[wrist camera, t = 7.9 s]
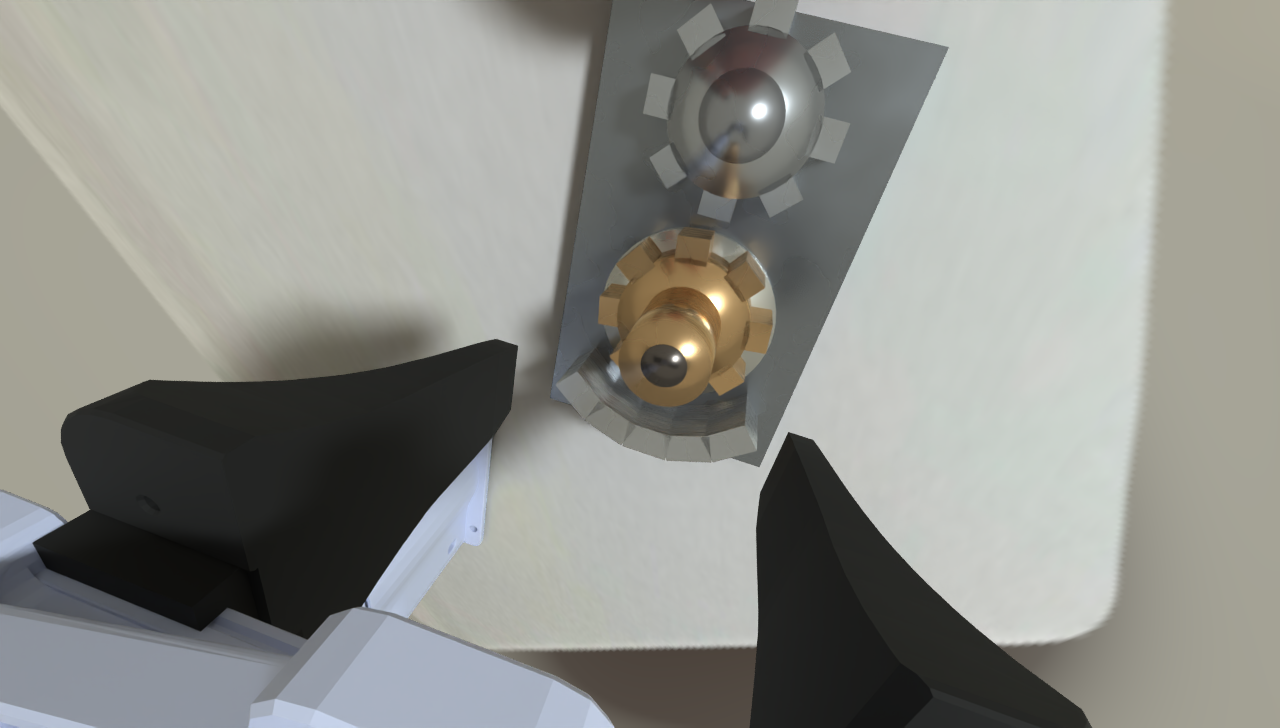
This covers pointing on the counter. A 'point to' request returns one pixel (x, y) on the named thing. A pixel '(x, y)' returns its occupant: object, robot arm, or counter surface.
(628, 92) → the carrier plate
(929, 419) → the counter surface
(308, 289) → the counter surface
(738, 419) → the ring gear segment
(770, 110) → the sun gear
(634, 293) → the planet gear
